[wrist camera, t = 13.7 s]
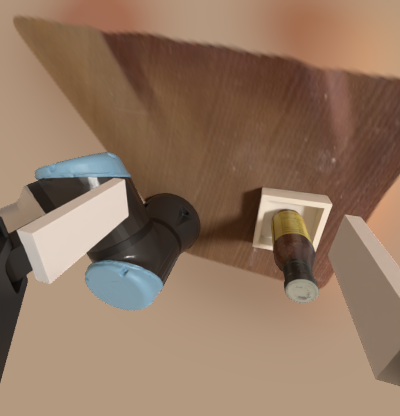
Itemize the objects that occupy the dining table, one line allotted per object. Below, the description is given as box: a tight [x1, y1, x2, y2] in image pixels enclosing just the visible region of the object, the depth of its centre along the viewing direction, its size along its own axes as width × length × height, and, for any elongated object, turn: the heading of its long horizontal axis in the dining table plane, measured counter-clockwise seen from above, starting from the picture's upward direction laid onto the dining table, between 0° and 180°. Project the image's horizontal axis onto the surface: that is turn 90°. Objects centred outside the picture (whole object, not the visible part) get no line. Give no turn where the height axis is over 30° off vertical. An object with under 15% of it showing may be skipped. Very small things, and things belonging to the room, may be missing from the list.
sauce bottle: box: [271, 209, 319, 303], centre depth 37 cm, size 7×6×20 cm
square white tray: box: [253, 187, 332, 252], centre depth 44 cm, size 12×12×4 cm
